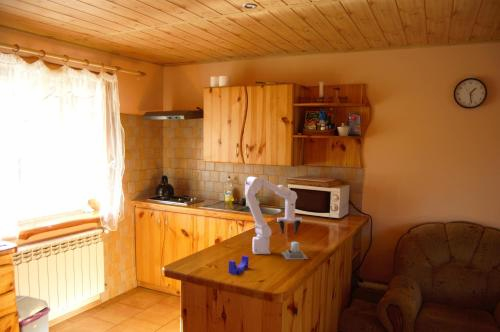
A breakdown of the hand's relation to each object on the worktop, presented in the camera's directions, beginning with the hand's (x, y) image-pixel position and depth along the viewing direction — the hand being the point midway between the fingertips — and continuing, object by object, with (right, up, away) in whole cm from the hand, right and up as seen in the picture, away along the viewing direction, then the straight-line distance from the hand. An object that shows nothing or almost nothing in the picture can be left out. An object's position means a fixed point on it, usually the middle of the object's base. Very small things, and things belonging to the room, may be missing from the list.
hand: (289, 233), depth 231 cm
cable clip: (-28, -12, -38) cm, 49 cm away
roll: (+2, -10, -13) cm, 16 cm away
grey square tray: (+2, -11, -13) cm, 16 cm away
